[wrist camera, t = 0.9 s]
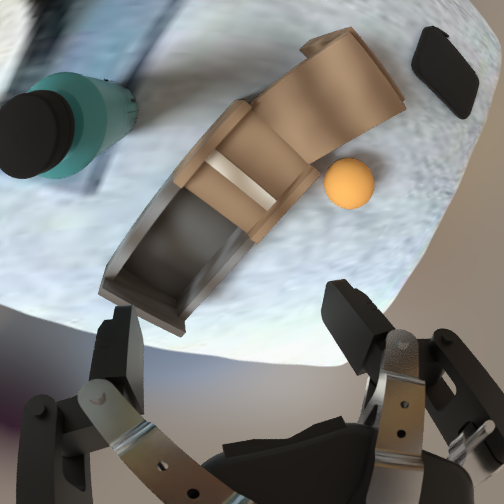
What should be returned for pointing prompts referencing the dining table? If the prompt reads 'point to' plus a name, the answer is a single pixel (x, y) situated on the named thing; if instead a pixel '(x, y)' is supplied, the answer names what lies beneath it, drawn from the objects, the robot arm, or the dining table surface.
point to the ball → (349, 183)
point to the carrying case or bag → (445, 71)
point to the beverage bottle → (63, 125)
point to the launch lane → (246, 178)
